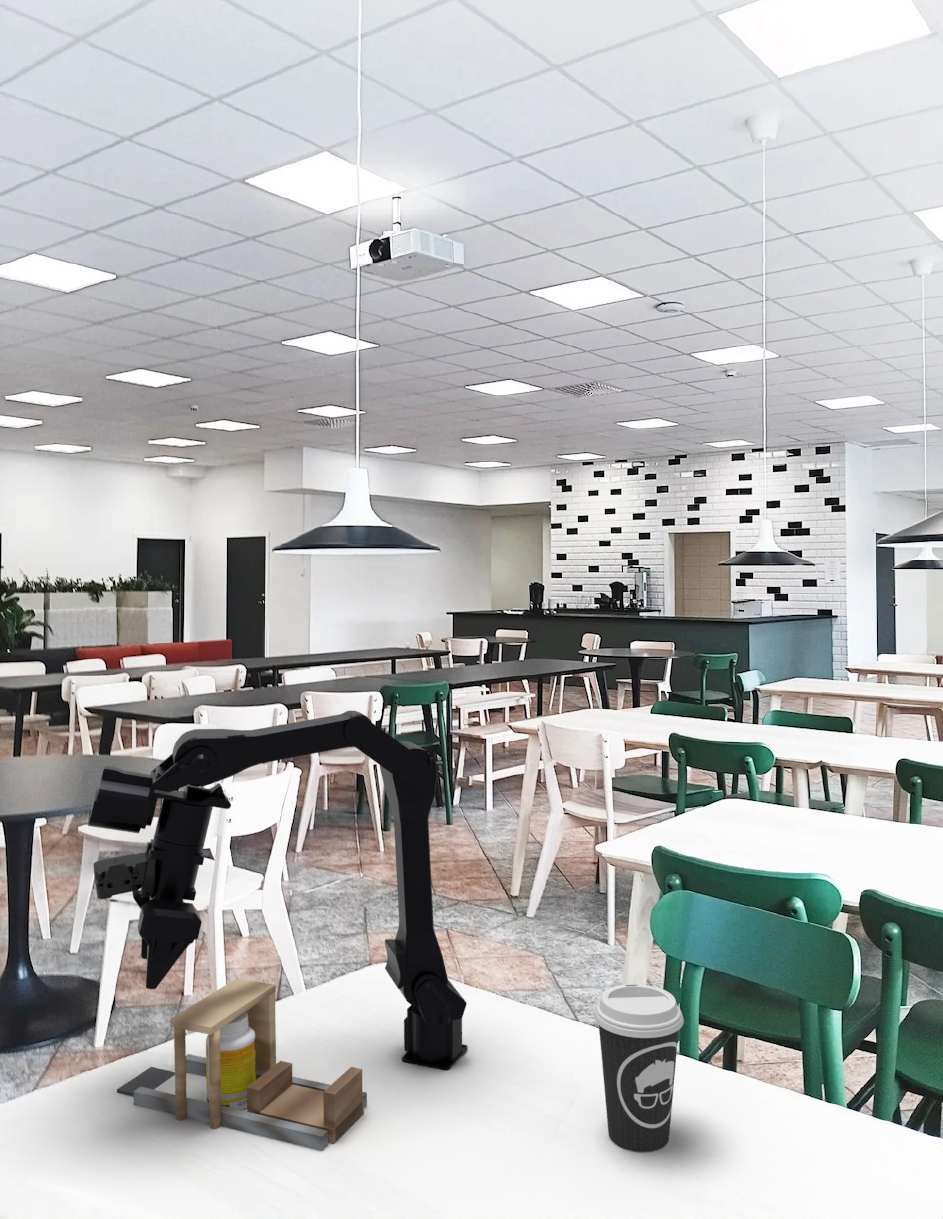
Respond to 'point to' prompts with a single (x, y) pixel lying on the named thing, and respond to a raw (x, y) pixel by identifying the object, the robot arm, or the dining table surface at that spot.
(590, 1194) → the dining table surface
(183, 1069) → the tunnel track
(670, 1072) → the coffee cup
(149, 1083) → the pad
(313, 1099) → the sled
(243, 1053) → the supplement bottle
